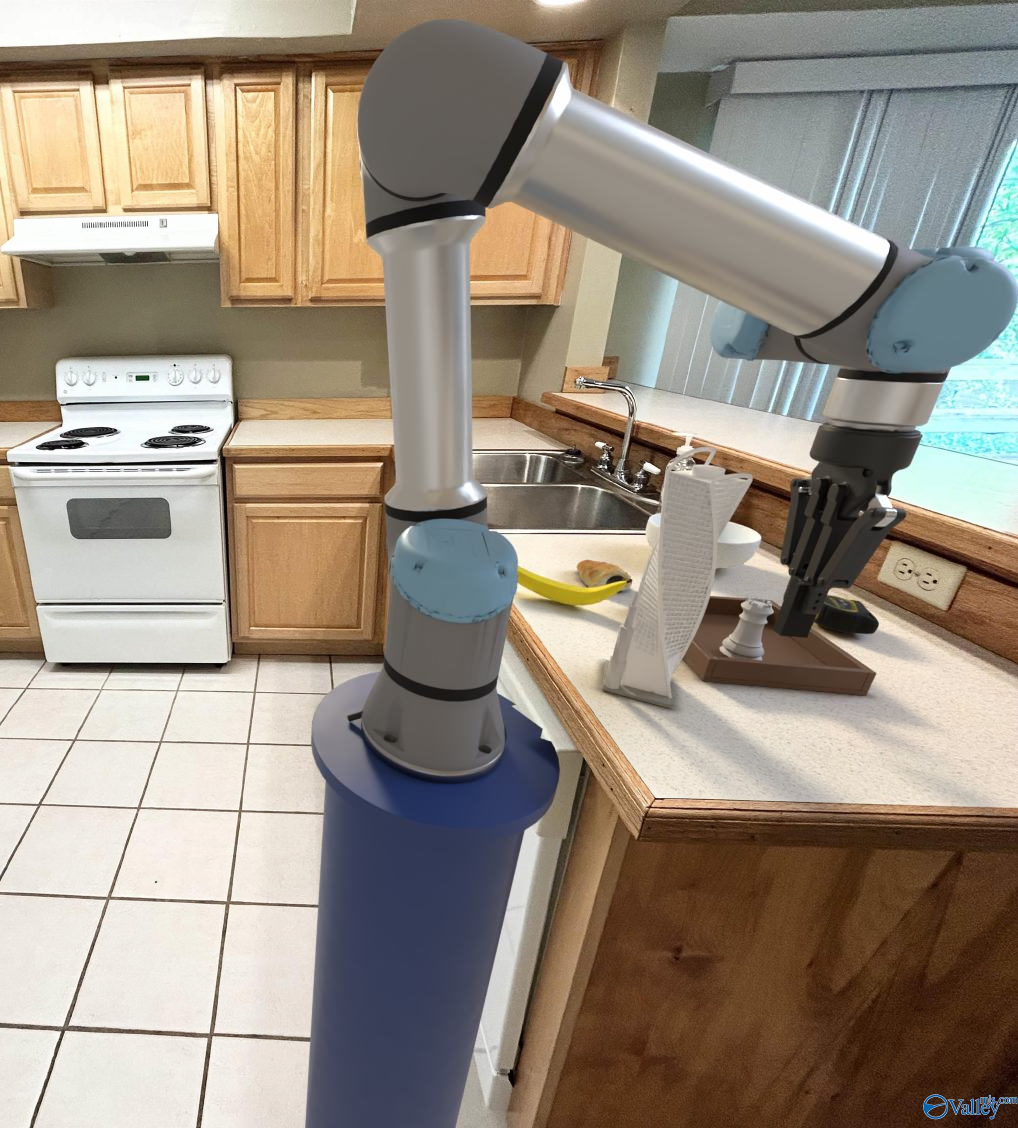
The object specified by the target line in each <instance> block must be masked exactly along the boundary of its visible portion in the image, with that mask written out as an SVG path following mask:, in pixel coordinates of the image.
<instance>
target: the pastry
mask: <svg viewBox="0 0 1018 1128" xmlns="http://www.w3.org/2000/svg"><path fill="white" fill-rule="evenodd" d="M576 570H577V573H578V575H579V579H580V581H582V583H583V584H584V585H586V586H587V588H594V587H600V586H604V585H607V584H611V583H615V582H619V581H627V580H629V579H632V577H631V574H629V573H628V572H627V571H625V570H623V569H622V568H620V566H619V565H616V564H614V563H610V562H607V561H600V560H591V559H584V560H581V561H580V562H578V563H577V565H576ZM632 585H633V581H632V582H631V583H628V584H627V585H626V586H625V587H624V588H623V589H621V590H620V591H619V592H624V591H627V590H629V589H630V588H631V587H632Z"/></svg>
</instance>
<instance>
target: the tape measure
mask: <svg viewBox="0 0 1018 1128" xmlns="http://www.w3.org/2000/svg"><path fill="white" fill-rule="evenodd" d="M814 624H816V625H818V626H821V628H824V629H829V630H832V631H835V632H839V633H847V634H859V635H872V634H874V633H876V632H877V630H878V628H879V626H880V622H879V619H878V618H877V617H876V616H875V615H874V614H873V613H872V612H871V611H870V610H869V609H868V608H867V607H866V606H865V604H864V603H862V601H859V600H855V599H847V598H845V597H840V596H838V595H832V594H827V597H826V599H825V601H824V603H823V606H822V609H821V611H820V612H819V614H818V615H816V618H815V620H814Z"/></svg>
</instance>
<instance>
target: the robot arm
mask: <svg viewBox="0 0 1018 1128" xmlns="http://www.w3.org/2000/svg"><path fill="white" fill-rule="evenodd" d="M569 70H570V69H569V64H568V62H566V61H564V60H561V59H559V58H557V57H555V56H553V55H551V54H549V53H547V52H545V51H543V50H541V49H538V48H537V47H535V46H532V45H531V44H528V43H526V42H524V41H521V40H519V39H517V38H514V37H512V36H511V35H508V34H506V33H503V32H501V31H499V30H497V29H493V28H491V27H488V26H485V25H482V24H479V23H477V22H476V23H475V22H474V21H471V20H470V21H469V20H464V19H458V18H441V19H440V18H439V19H431V20H428V21H425V22H422V23H419V24H416V25H414V26H412V27H411V28H408V29H407V30H405V31H403V32H402V33H401V34H399V35H398V36H397V37H396V38H394V39H393V40H392V41H391V42H390V43H389V44H388V45H387V46H386V47H385V48H384V49H383V51H382V52H381V53H380V54H379V56H378V57H377V58H376V60H375V61H374V62H373V64H372V66H371V68H370V70H369V72H368V74H367V75H366V78H365V80H364V83H363V85H362V88H361V92H360V96H359V99H358V104H357V113H356V123H355V124H356V137H357V142H358V148H359V171H360V177H361V182H362V183H361V184H362V197H363V212H364V225H365V239H366V245H367V246H369V248H371V249H372V250H373V251H374V252H376V253H377V254H378V255H379V257H380V258H381V260H382V267H383V268H382V270H383V287H384V301H385V302H384V303H385V306H384V307H385V320H386V336H387V351H388V353H387V354H388V365H389V366H388V369H389V371H388V372H389V385H390V400H391V401H390V402H391V417H392V420H391V421H392V435H393V449H394V450H393V451H394V452H393V453H394V468H395V469H394V470H395V483H394V485H393V486H392V487H391V489H389V491H387V493H386V494H385V495H384V498H383V499H384V512H385V513H384V514H385V527H386V528H385V529H386V541H385V543H386V553H387V554H386V555H387V560H388V563H387V564H388V590H389V591H388V612H387V621H386V633H385V642H384V643H385V644H384V655H383V663H382V668H381V670H380V671H381V672H380V671H379V672H380V674H379V676H378V678H377V680H376V682H375V684H374V686H373V688H372V690H371V692H370V694H369V696H368V698H367V700H366V702H365V704H364V707H363V710H362V711H361V712H358V713H354V714H351V715H348V716H347V718H348V721H349V722H350V721H354V720H357V719H360V718H361V733H362V737H363V739H364V741H365V743H366V745H367V747H368V748H369V749H370V751H371V752H372V753H373V754H374V755H375V756H376V757H377V758H378V759H380V760H381V761H382V762H383V763H385V764H386V765H388V766H389V767H391V768H393V769H394V770H396V771H398V772H400V773H403V774H405V775H407V776H410V777H413V778H416V779H419V780H423V781H428V782H434V783H443V784H458V783H467V782H471V781H475V780H478V779H481V778H483V777H485V776H487V775H488V774H490V773H491V772H493V771H494V770H495V769H496V768H497V767H498V765H499V764H500V762H501V760H502V756H503V751H504V746H505V735H506V742H507V733H506V726H505V720H504V724H503V719H502V714H501V709H500V704H499V699H498V694H499V693H498V689H497V686H498V681H499V680H498V679H499V674H500V670H501V666H502V660H503V655H504V649H505V644H506V639H507V635H508V634H507V633H508V627H509V622H510V618H511V612H512V608H513V607H512V606H513V601H514V599H515V595H516V594H517V590H518V584H519V583H518V573H517V570H518V566H519V557H518V554H517V551H516V549H515V547H514V545H513V544H512V542H511V541H510V540H509V539H507V538H506V537H505V536H504V535H503V534H502V533H500V532H498V531H497V530H490V529H489V527H488V489H487V488H486V487H485V486H484V485H482V484H481V482H480V481H478V480H477V479H475V477H474V459H473V458H474V456H473V455H474V454H473V453H474V452H473V392H472V391H473V389H472V388H473V386H472V385H473V383H472V379H473V378H472V323H471V321H472V320H471V318H472V317H471V315H472V314H471V260H470V259H471V257H470V256H471V252H470V251H471V248H470V247H471V243H472V239H473V238H474V237H475V236H476V235H477V233H478V232H479V231H480V230H481V228H482V227H483V226H484V225H485V223H486V217H487V216H486V215H487V213H486V209H489V210H491V209H494V208H496V207H499V206H500V205H503V204H506V203H512V204H514V205H517V206H519V207H520V208H523V209H526V210H527V211H530V212H532V213H534V214H535V215H538V216H540V217H543V218H544V219H546V220H549V221H551V222H553V223H555V224H556V225H559V226H561V227H563V228H566V229H568V230H570V231H572V232H574V233H577V234H578V235H580V236H583V237H585V238H587V239H589V240H591V241H593V242H594V243H598V244H599V245H601V246H603V247H606V248H608V249H609V250H612V251H614V252H616V253H619V254H621V255H623V256H625V257H627V258H629V259H631V260H633V261H635V262H638V263H640V264H642V265H644V266H646V267H648V268H650V269H653V270H655V271H657V272H658V273H661V274H663V275H666V276H667V277H670V278H672V279H674V280H676V281H678V282H680V283H682V284H685V285H686V286H688V287H690V288H693V289H695V290H697V291H699V292H701V293H703V294H705V295H708V296H710V297H712V298H714V299H716V300H718V301H719V302H718V304H717V306H716V309H715V312H714V314H713V318H712V322H711V326H710V341H711V342H710V343H711V346H712V349H713V351H714V352H715V354H717V355H718V356H719V357H721V358H724V359H734V360H735V359H736V360H746V361H747V362H753V361H755V360H759V361H784V362H785V361H786V362H795V363H805V364H806V363H807V364H818V365H832V366H839V370H838V372H837V375H836V377H835V380H834V382H833V386H832V388H831V391H830V394H829V396H828V399H827V402H826V403H825V407H824V409H823V413H822V415H823V416H824V417H825V419H828V421H827V422H822V424H820V425H819V426H818V428H817V430H816V433H815V437H814V438H813V439H814V440H813V442H812V444H811V447H810V450H809V457H810V458H811V459H812V460H814V461H816V462H818V463H817V464H816V466H815V467H814V468H813V469H812V472H811V474H810V475H809V476H807V477H805V478H799V477H797V478H796V477H794V478H793V479H791V480H790V482H789V484H790V485H789V488H790V489H789V492H790V503H789V509H788V514H787V520H786V525H785V529H784V530H785V531H784V536H783V541H782V547H781V551H780V557H779V562H780V564H781V565H783V566H787V568H788V570H787V571H788V572H787V573H788V575H789V576H790V577H789V579H788V580H789V581H788V583H787V585H786V588H785V591H784V594H783V600H782V603H781V605H780V606H781V608H780V611H779V614H778V616H777V619H776V622H775V624H774V627H773V630H774V631H775V632H776V633H778V634H779V635H780V636H789V637H802V638H807V637H808V635H809V632H810V630H811V628H812V627H813V625H814V624H815V622H814V620H815V618H816V615H818V614H819V612H820V611H821V609H822V606H823V603H824V601H825V599H826V597H827V595H829V592H830V590H831V589H845V590H846V589H851V588H852V586H853V584H854V583H855V582H856V580H857V578H858V577H859V576H860V574H861V573H862V572H863V570H864V568H865V567H866V566H867V565H868V563H869V561H870V560H871V558H872V557H873V555H874V554H875V553H876V551H877V550H878V549H879V548H880V545H881V544H882V543H883V541H884V540H885V538H886V537H887V536H888V534H889V532H890V531H891V530H892V529H894V528H895V527H896V526H897V525H900V524H901V522H903V521H904V520H905V519H906V517H907V510H906V509H905V508H898V507H894V506H893V505H892V503H891V502H890V500H889V496H890V495H891V493H892V487H893V486H892V481H893V476H894V475H895V474H896V473H897V472H899V471H902V470H905V469H907V468H909V467H910V466H911V464H912V462H913V460H914V457H915V455H916V454H917V453H916V452H917V450H918V448H919V446H920V444H921V441H922V438H923V436H924V435H923V434H922V432H921V430H918V429H916V428H917V427H923V426H924V425H926V424H928V423H929V420H930V419H931V415H932V413H933V411H934V408H935V406H936V403H937V401H938V399H939V397H940V394H941V391H942V389H943V387H944V384H945V382H946V380H947V379H948V376H949V373H950V371H951V369H952V368H954V367H957V366H959V365H961V364H962V365H963V364H964V363H966V362H968V361H971V360H972V359H973V358H975V357H977V356H978V355H980V354H981V353H982V352H984V351H985V350H987V349H988V348H989V347H990V346H992V344H993V343H994V342H995V341H996V340H997V339H998V338H999V337H1000V335H1001V334H1002V333H1003V332H1004V331H1005V330H1006V328H1007V327H1008V326H1009V324H1010V323H1011V321H1012V319H1013V317H1014V315H1015V312H1016V310H1017V307H1018V283H1017V280H1016V277H1015V276H1014V274H1013V273H1012V272H1011V270H1010V269H1009V268H1008V267H1006V266H1005V264H1002V263H1001V262H999V261H997V260H995V255H994V254H993V252H992V251H991V250H990V249H988V248H986V247H980V246H950V247H948V246H947V247H928V248H927V247H926V248H912V249H911V248H909V247H906V246H904V245H903V244H900V243H898V242H896V241H893V240H891V239H889V238H886V237H884V236H881V235H879V234H877V233H876V232H875V233H874V232H872V231H871V230H868V229H866V228H865V227H862V226H860V225H858V224H856V223H854V222H852V221H849V220H848V219H846V218H843V216H840V215H837V214H835V213H833V212H831V211H829V210H828V209H825V208H823V207H821V206H819V205H816V204H815V203H812V202H811V201H808V200H807V199H804V198H802V197H800V196H798V195H796V194H794V193H792V192H789V191H788V190H785V189H783V188H781V187H779V186H777V185H775V184H773V183H771V182H769V181H767V180H765V179H763V178H760V177H758V176H756V175H755V174H752V173H750V172H748V171H747V170H744V169H742V168H740V167H738V166H735V165H734V164H732V163H730V162H727V161H725V160H723V159H722V158H719V157H717V156H715V155H713V154H711V153H710V152H709V153H708V152H707V151H705V150H702V149H700V148H698V147H696V146H694V145H693V144H690V143H689V142H686V141H684V140H682V139H680V138H678V137H676V136H673V135H672V134H669V133H667V132H665V131H663V130H661V129H659V128H656V127H655V126H653V125H651V124H648V123H646V122H644V121H643V120H640V119H638V118H636V117H634V116H632V115H630V114H628V113H626V112H624V111H622V110H621V109H617V108H615V107H613V106H611V105H609V104H607V103H605V102H604V101H601V100H599V99H596V98H594V97H593V96H590V95H589V94H586V93H584V92H583V91H580V90H578V89H576V88H574V87H573V85H572V82H571V79H570V78H571V77H570V71H569ZM497 693H498V694H497Z"/></svg>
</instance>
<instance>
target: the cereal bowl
mask: <svg viewBox="0 0 1018 1128" xmlns="http://www.w3.org/2000/svg"><path fill="white" fill-rule="evenodd" d="M660 517H661V512H659V513H654V514H652V515H651V516H649V518H648V520H647V523H646V527H645V539H646V541H647V543H648V545H649V546H650V548H652V549H653V548H654V545H655V543H656V541H657V539H658V537H659V527H660ZM761 542H762V536H761V534H760V533H758V532H757V531H756V530H754V529H752V528H750V527H748V526H745V525H742V524H739V523H736V522H732V521H729V522H728V524H727V525H726V527H725V529H724V530H723V532H722V534H721V535H720V537H719V538H718V540H717V561H716V570H718V569H728V568H729V569H730V568H735V567H739V566H741V565H744V564H745V563H747V562H748V561H750V560H751V559H752V558H753V557H754V556H755V554H756V553H757V551H758V549H759V547H760V545H761Z"/></svg>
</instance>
